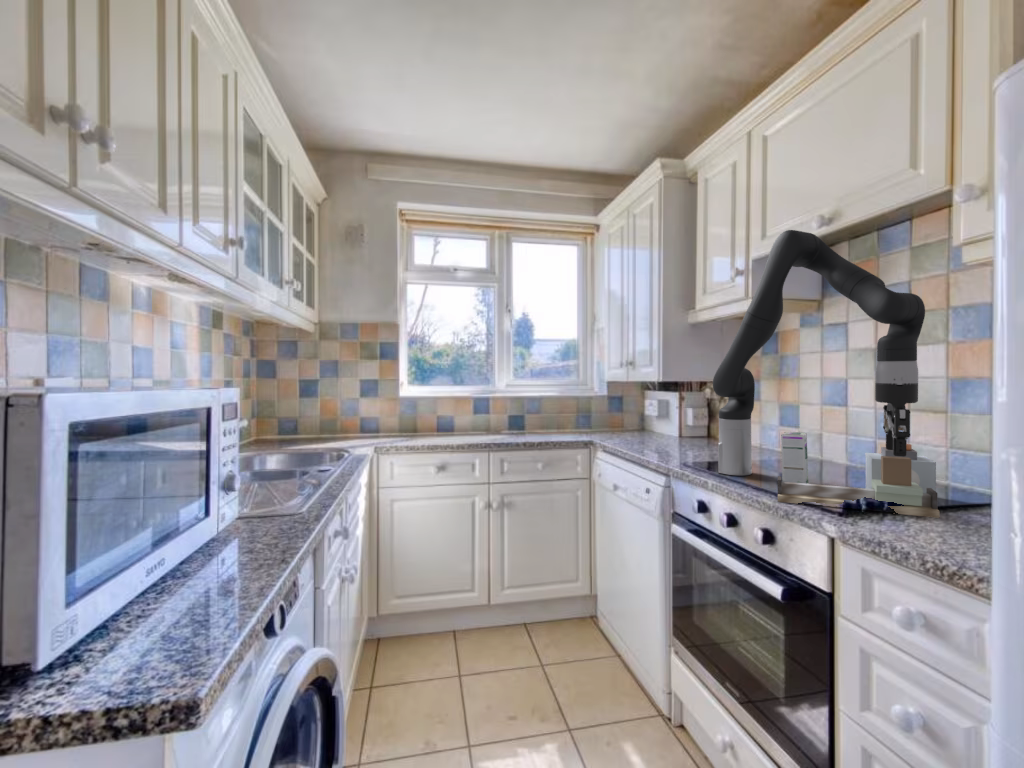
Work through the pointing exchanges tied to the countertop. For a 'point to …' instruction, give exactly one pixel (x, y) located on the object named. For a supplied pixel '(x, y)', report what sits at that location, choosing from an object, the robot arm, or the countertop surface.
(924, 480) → the gauge cabinet
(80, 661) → the countertop surface
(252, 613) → the countertop surface
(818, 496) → the rail base
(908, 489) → the brown block on pedestal
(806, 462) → the syrup box
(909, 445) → the button
